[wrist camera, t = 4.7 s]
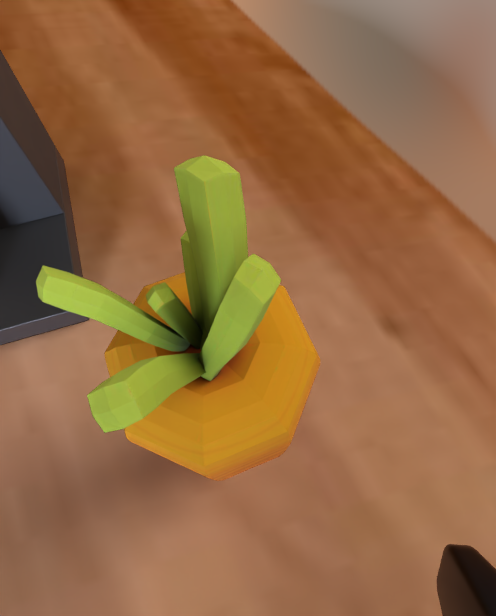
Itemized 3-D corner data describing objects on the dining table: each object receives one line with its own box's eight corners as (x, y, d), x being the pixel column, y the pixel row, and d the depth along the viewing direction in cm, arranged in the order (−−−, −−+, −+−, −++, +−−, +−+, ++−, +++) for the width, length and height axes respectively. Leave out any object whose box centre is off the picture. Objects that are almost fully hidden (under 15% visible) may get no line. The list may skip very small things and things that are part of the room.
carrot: (234, 520, 18) (140, 562, 4) (157, 431, 19) (-96, 244, 6) (315, 432, 19) (453, 241, 5) (237, 356, 21) (192, 59, 7)
